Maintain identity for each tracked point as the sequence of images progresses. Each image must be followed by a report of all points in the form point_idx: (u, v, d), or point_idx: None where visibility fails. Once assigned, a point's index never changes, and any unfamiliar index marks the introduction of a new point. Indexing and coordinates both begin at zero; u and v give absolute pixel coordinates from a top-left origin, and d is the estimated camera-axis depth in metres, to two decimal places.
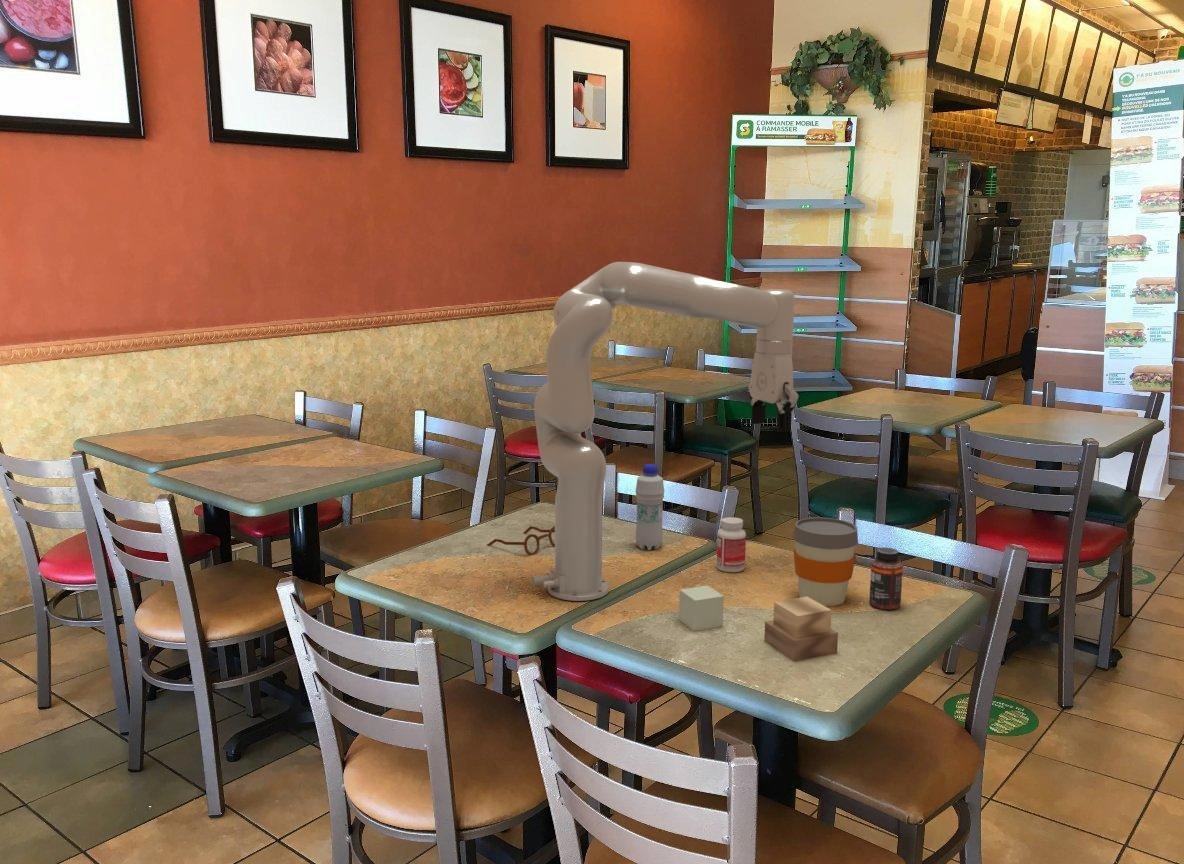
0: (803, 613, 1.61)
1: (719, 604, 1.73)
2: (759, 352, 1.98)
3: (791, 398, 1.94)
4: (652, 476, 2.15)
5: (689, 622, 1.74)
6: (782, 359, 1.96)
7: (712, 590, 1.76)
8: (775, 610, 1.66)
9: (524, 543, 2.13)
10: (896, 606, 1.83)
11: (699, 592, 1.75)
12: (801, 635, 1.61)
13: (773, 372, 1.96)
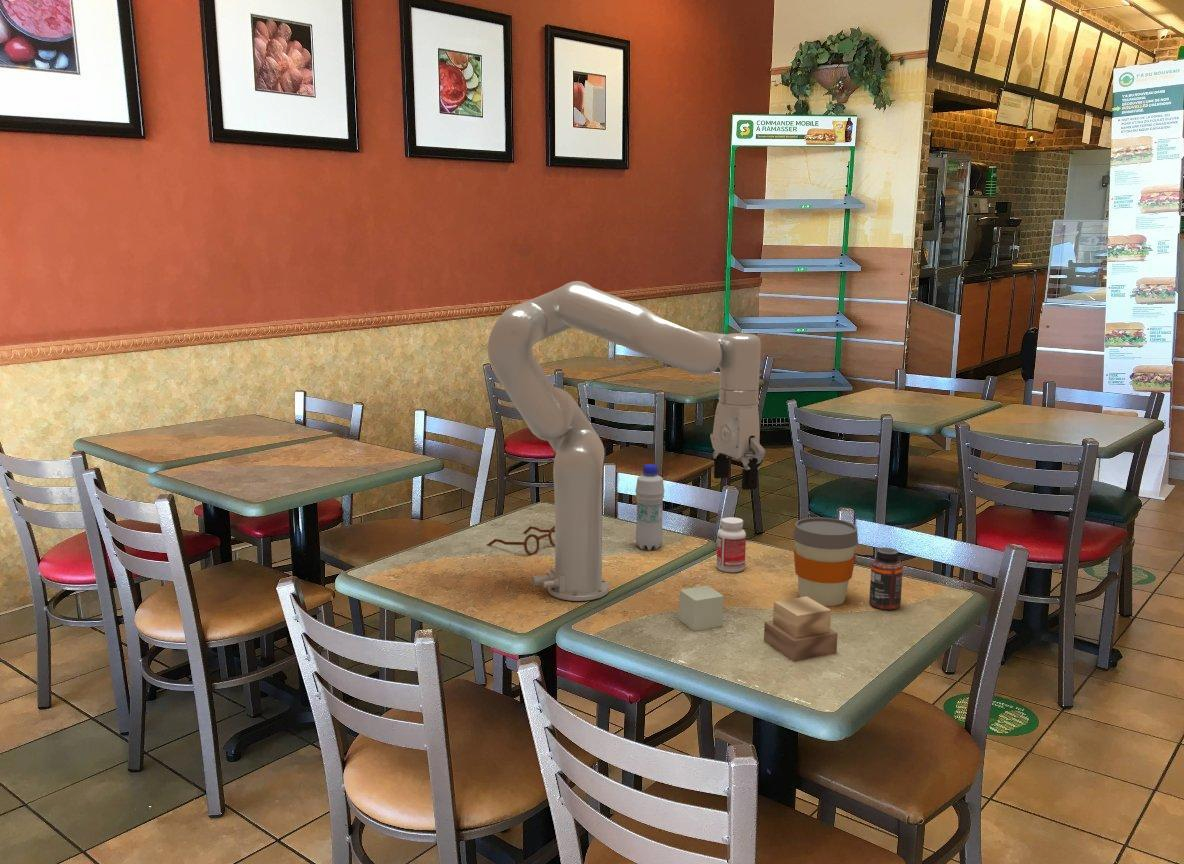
0: (803, 612, 1.61)
1: (719, 604, 1.73)
2: (722, 402, 1.81)
3: (757, 454, 1.77)
4: (652, 476, 2.15)
5: (689, 622, 1.74)
6: (748, 411, 1.78)
7: (712, 590, 1.76)
8: (775, 610, 1.66)
9: (524, 543, 2.13)
10: (896, 606, 1.83)
11: (699, 592, 1.75)
12: (801, 635, 1.61)
13: (738, 425, 1.79)
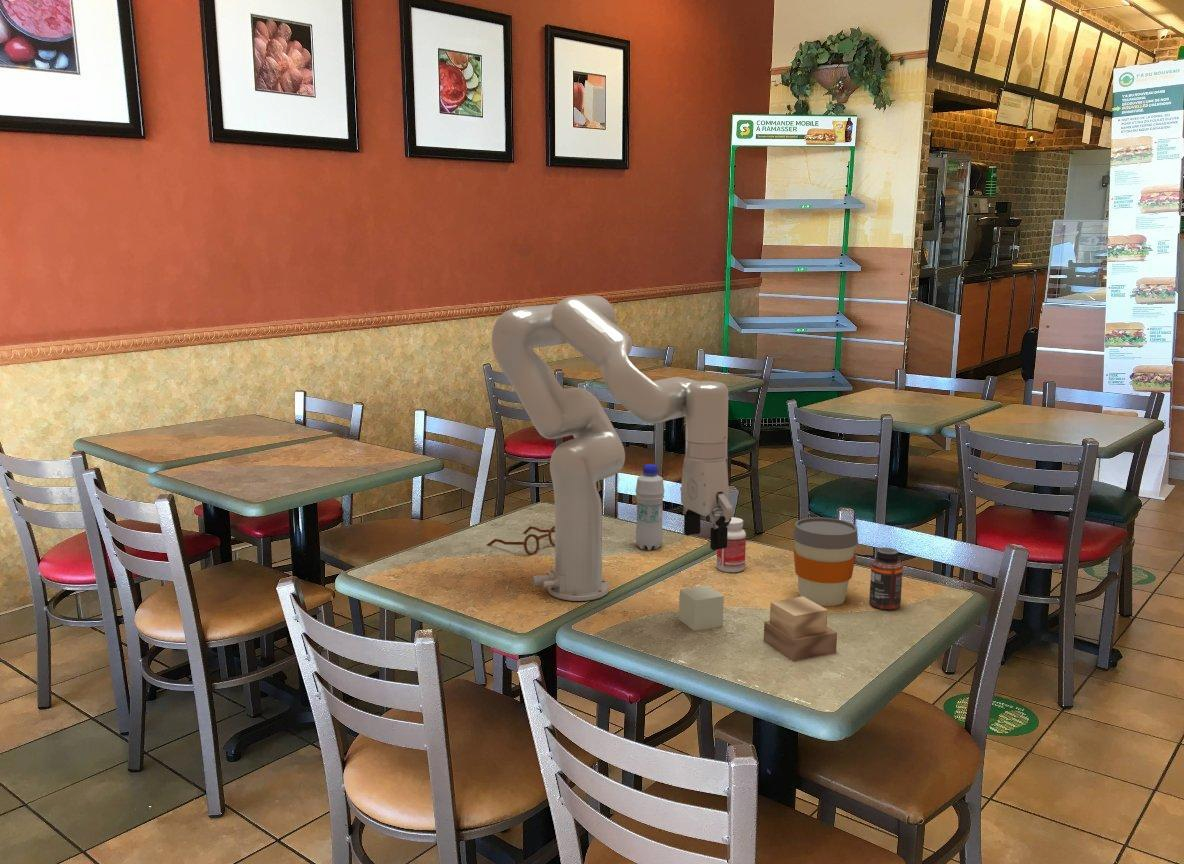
0: (799, 612, 1.61)
1: (719, 604, 1.73)
2: (688, 456, 1.68)
3: (725, 512, 1.64)
4: (652, 476, 2.15)
5: (689, 622, 1.74)
6: (714, 465, 1.66)
7: (712, 590, 1.76)
8: (771, 610, 1.66)
9: (524, 543, 2.13)
10: (896, 606, 1.83)
11: (699, 592, 1.75)
12: (797, 635, 1.61)
13: (704, 481, 1.66)
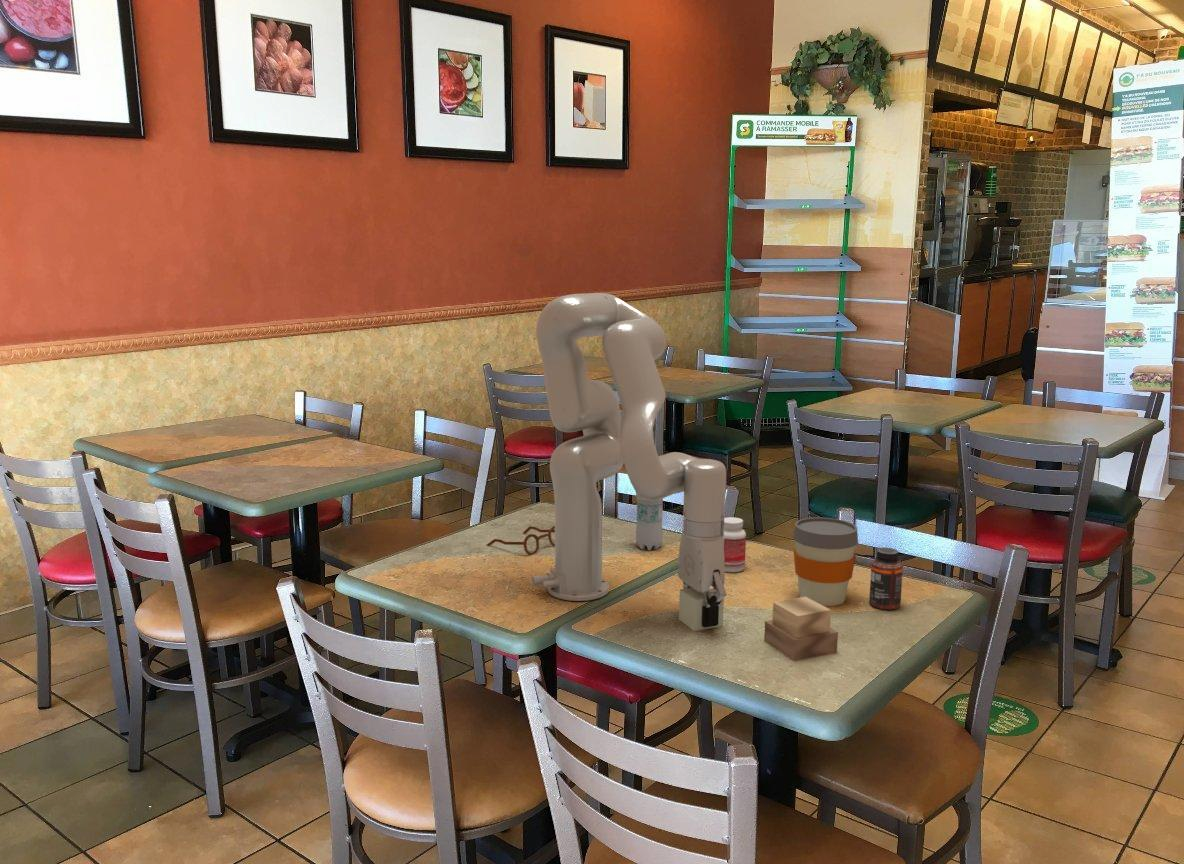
0: (803, 613, 1.61)
1: None
2: (686, 533, 1.71)
3: (717, 596, 1.68)
4: None
5: (690, 622, 1.74)
6: (711, 544, 1.69)
7: None
8: (774, 610, 1.66)
9: (524, 543, 2.13)
10: (896, 606, 1.83)
11: (699, 592, 1.75)
12: (801, 635, 1.61)
13: (701, 559, 1.69)
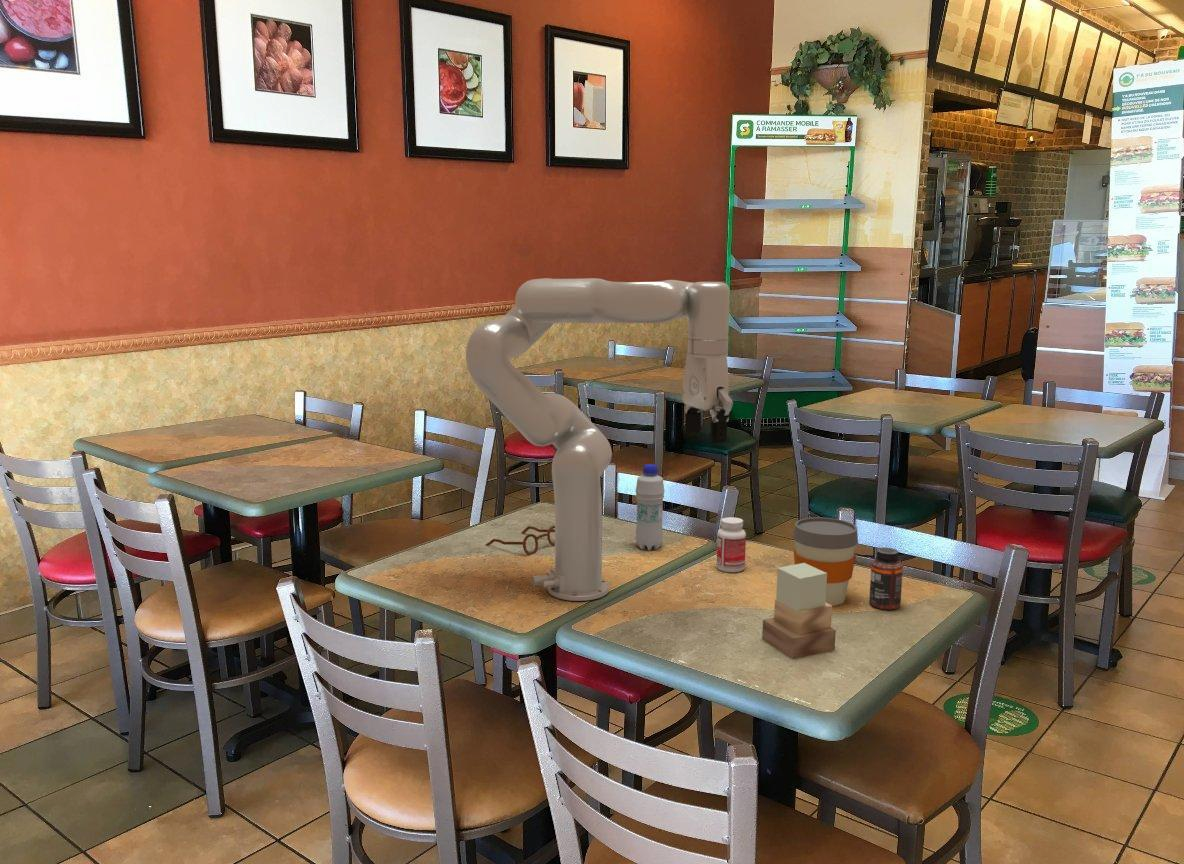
0: None
1: (822, 582, 1.63)
2: (690, 353, 1.75)
3: (725, 405, 1.71)
4: (652, 476, 2.15)
5: (792, 602, 1.63)
6: (715, 361, 1.72)
7: (812, 567, 1.66)
8: (776, 607, 1.67)
9: (523, 543, 2.13)
10: (896, 606, 1.83)
11: (799, 570, 1.64)
12: (804, 631, 1.62)
13: (705, 376, 1.73)
